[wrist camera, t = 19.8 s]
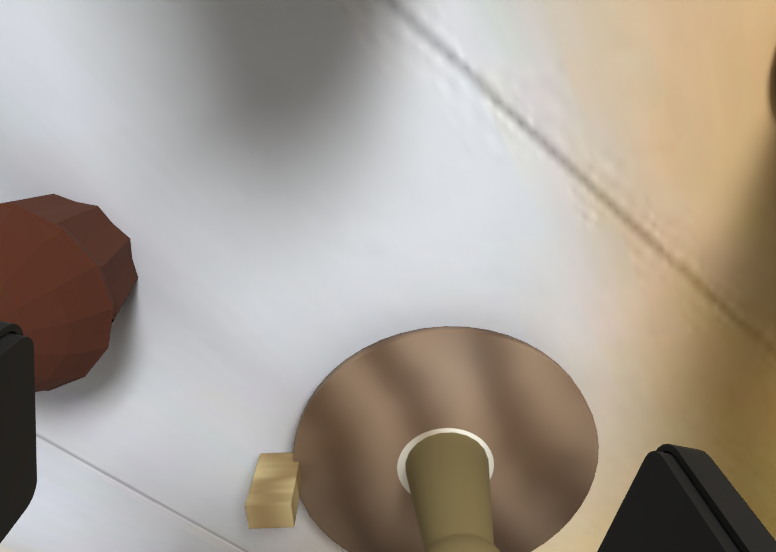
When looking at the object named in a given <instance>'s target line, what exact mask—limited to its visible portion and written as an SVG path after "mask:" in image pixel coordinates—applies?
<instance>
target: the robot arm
mask: <svg viewBox="0 0 776 552" xmlns="http://www.w3.org/2000/svg"><path fill="white" fill-rule="evenodd" d="M36 484H37V464H36V419H35V373H34V345H33V341H32V339H31V338H29V337H27V336H24V335H23V331H22V329H21V327H20V326H19V325H17V324H14V323H8V322H3V321H0V543H1V542H2V540H3V539H4V538H5V536H6V535H7V534H8V532H9V531H10V530H11V528H12V527H13V526H14V524H15V523H16V522H17V520H18V519H19V518H20V516H21V515H22V514H23V512H24V511H25V510H26V508H27V507H28V505H29V504H30V502H31V500H32V498H33V495H34V492H35V489H36ZM597 552H776V541H775V539H774V538H773V537H772V536H771V534H770V533H769V532H768V531H767V529H766V528H765V527H764V525H763V524H762V523H761V522H760V520H759V519H758V518H757V516H756V515H755V514H754V513H753V511H752V510H751V509H750V507H749V506H748V505H747V504H746V502H745V501H744V500H743V498H742V497H741V496H740V495H739V493H738V492H737V491H736V489H735V488H734V487H733V486H732V484H731V483H730V482H729V480H728V479H727V478H726V477H725V475H724V474H723V473H722V472H721V470H720V469H719V468H718V466H717V465H716V464H715V463H714V461H713V460H712V459H711V457H710V456H709V455H708V454H707V453H705V452H704V451H701V450H698V449H693V448H687V447H682V446H676V445H671V444H664V445H662V446H660V447H659V448H658V449H657V450H656V451H652V452H650V453H648V454H647V456H646V457H645V459H644V461H643V463H642V465H641V467H640V469H639V471H638V473H637V475H636V477H635V479H634V481H633V483H632V485H631V486H630V488H629V490H628V492H627V494H626V496H625V498H624V500H623V502H622V504H621V506H620V508H619V510H618V512H617V514H616V516H615V518H614V520H613V522H612V524H611V526H610V528H609V530H608V532H607V534H606V536H605V538H604V540H603V542H602V544H601V545H600V547H599V549H598V551H597Z"/></svg>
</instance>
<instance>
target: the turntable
mask: <svg viewBox="0 0 776 552" xmlns="http://www.w3.org/2000/svg"><path fill="white" fill-rule="evenodd" d="M448 432H455V433H459V434H464V435H467V436H469V437H471V438H472V439H474V440H476V441H478V443H479V444H480V445H481V446H482V447H483V448H484V449H485V452H486V454H487V457H488V460H489V476H490V491H491V507H492V522H493V537H494V545H495V546H496V547H497V548H498V549H499V550H500V552H531V551H533V550H534V549H536V548H537V547H539V546H541V545H542V544H544V543H545V542H547V541H548V540H549V539H550V538H552V537H553V536H554V535H555V534H556V533H558V532H559V531H560V530H561V529H562V528H563V527H564V526H565V525H566V524H567V523H568V522H569V521H570V520H571V518H572V517H573V516H574V514H575V513H576V512H577V510H578V509H579V508H580V506H581V505H582V503H583V501H584V499H585V498H586V496H587V494H588V492H589V490H590V487H591V485H592V482H593V480H594V476H595V472H596V467H597V463H598V448H599V445H598V436H597V429H596V426H595V422H594V419H593V415H592V413H591V411H590V409H589V407H588V405H587V403H586V400H585V399H584V397H583V395H582V393H581V391H580V390H579V388H578V387H577V386H576V384H575V383H574V381H573V380H572V378H571V377H570V376H569V375H568V374H567V373H566V372H565V371H564V370H563V369H562V368H561V367H560V366H559V364H557V363H556V362H555V361H554V360H552V359H551V358H550V357H548V356H547V355H546V354H544V353H543V352H541V351H540V350H538V349H536V348H534V347H533V346H531V345H529V344H527V343H525V342H523V341H521V340H518V339H516V338H513V337H511V336H508V335H505V334H501V333H497V332H494V331H490V330H485V329H478V328H471V327H448V326H444V327H433V328H423V329H418V330H413V331H409V332H404V333H400V334H397V335H394V336H391V337H388V338H385V339H382V340H380V341H378V342H376V343H374V344H372V345H370V346H368V347H365V348H363V349H362V350H360V351H359V352H357V353H355V354H354V355H352V356H351V357H349V358H348V359H346V360H345V361H344V362H342V363H341V364H340V365H339V366H338V367H337V368H335V369H334V370H333V371H332V372H331V373H330V374H329V375H328V376H327V377H326V378H325V379H324V380H323V382H322V383H321V384H320V385H319V386H318V388H317V389H316V390H315V392H314V393H313V395H312V396H311V398H310V399H309V401H308V403H307V405H306V407H305V409H304V412H303V414H302V416H301V419H300V423H299V426H298V430H297V433H296V438H295V444H294V452H291V453H262V454H260V456H259V460H258V463H257V466H256V470H255V473H254V477H253V480H252V484H251V487H250V490H249V494H248V497H247V501H246V504H245V509H246V514H247V520H248V525H249V529H253V528H282V527H294V524H295V519H296V513H297V508H298V502H299V497H301V500H302V502H303V504H304V506H305V508H306V509H307V511H308V513H309V514H310V516H311V517H312V519H313V520H314V521H315V522H316V524H317V525H318V526H319V527H320V529H321V530H322V531H323V532H324V533H326V534H327V535H328V536H329V537H330V538H331V539H332V540H333V541H334V542H336V543H337V544H338V545H340V546H341V547H343V548H344V549H345V550H347V551H349V552H425V551H424V547H423V543H422V539H421V534H420V530H419V526H418V522H417V518H416V513H415V509H414V505H413V501H412V497H411V493H410V488H409V484H408V480H407V476H406V466H405V462H406V459H407V457H408V454H409V452H410V451H411V450H412V448H413V447H414V446H415V445H416V444H417V443H418V442H420V441H421V440H423V439H424V438H426V437H428V436H431V435H435V434H438V433H448Z"/></svg>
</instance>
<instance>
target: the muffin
mask: <svg viewBox="0 0 776 552" xmlns="http://www.w3.org/2000/svg"><path fill="white" fill-rule="evenodd" d="M137 278H138V276H137V273H136V269H135V266H134V263H133V260H132V253H131V243H130V238H129V237H128V236H126V235H125V234H124V233H123V232H122V231H121V230H119V229H118V228H117V227H116V226H115V225H114V224H113V223H112V222H111V221H110V220H109V219H108V217H107V216H106V215H105V214H104V213H103V212H102V210H101V209H100V208H99V207H98V206H95V205H89V204H84V203H79V202H75V201H72V200H69V199H66V198H64V197H61V196H58V195H55V194H50V195H45V196H39V197H34V198H28V199H23V200H17V201H12V202H6V203H1V204H0V321H3V322H8V323H14V324H17V325H19V326H20V327H21V329H22V331H23V335H24V336H27V337H29V338H31V339H32V341H33V345H34V373H35V392H38V391H49V390H52V389H54V388H57V387H60V386H62V385H65V384H67V383H70V382H72V381H75V380H77V379H80V378H82V377H85V376H86V375H87V373H88V372H89V371H90V370H91V368H92V367H93V366H94V365H95V363H96V362H97V361H98V360H99V358H100V357H101V356H102V355H103V353H104V352H105V351H106V350H107V349H108V345H109V339H110V331H111V324H112V322H113V321H114V319H115V317H116V315H117V313H118V312H119V310H120V308H121V306H122V305H123V303H124V301H125V299H126V297H127V296H128V294H129V292H130V290H131V289H132V287H133V285H134V283H135V281H136V280H137Z"/></svg>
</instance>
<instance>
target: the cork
mask: <svg viewBox="0 0 776 552" xmlns="http://www.w3.org/2000/svg"><path fill="white" fill-rule="evenodd" d="M405 466H406V476H407V480H408V484H409V488H410V493H411V497H412V501H413V505H414V509H415V513H416V518H417V522H418V526H419V530H420V534H421V539H422V543H423V547H424V551H425V552H500V550H499V549H498V548H497V547H496V546H495V545H494V537H493V522H492V507H491V491H490V476H489V460H488V457H487V454H486V452H485V449H484V448H483V447H482V446H481V445H480V444H479V443H478V441H476V440H474V439H472V438H471V437H469V436H467V435H464V434H459V433H455V432H448V433H438V434H435V435H431V436H428V437H426V438H424V439H423V440H421V441H420V442H418V443H417V444H416V445H415V446H414V447H413V448H412V450H411V451H410V452H409V454H408V457H407V459H406V462H405Z"/></svg>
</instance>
